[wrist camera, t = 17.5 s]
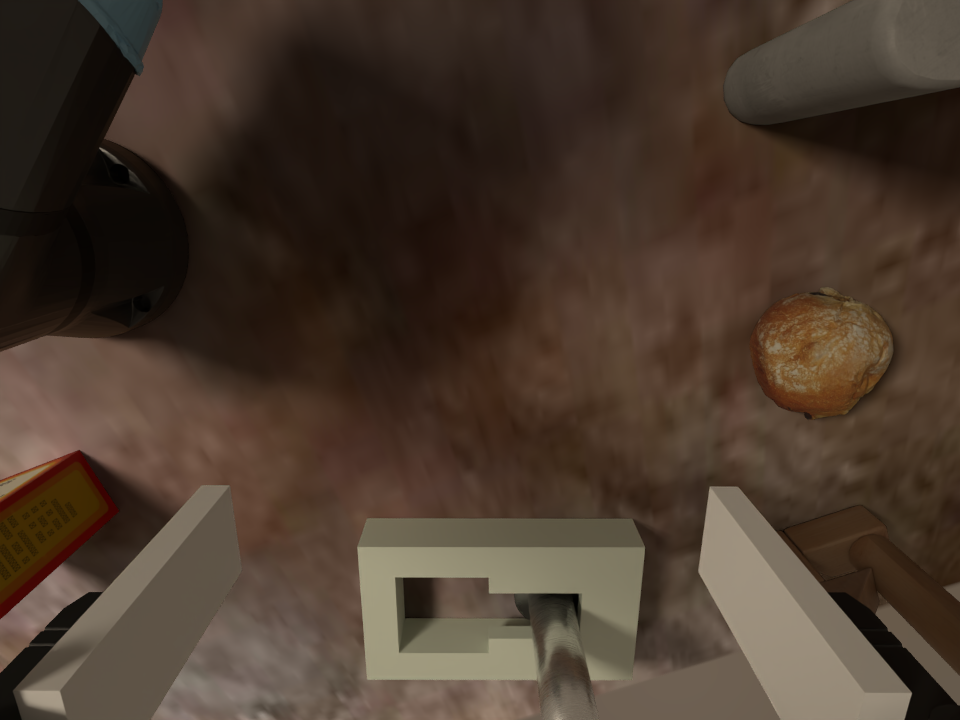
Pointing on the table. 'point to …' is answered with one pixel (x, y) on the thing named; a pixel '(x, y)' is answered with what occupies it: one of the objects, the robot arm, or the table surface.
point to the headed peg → (558, 656)
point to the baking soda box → (46, 521)
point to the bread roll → (820, 352)
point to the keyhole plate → (511, 569)
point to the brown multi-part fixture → (877, 574)
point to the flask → (848, 61)
